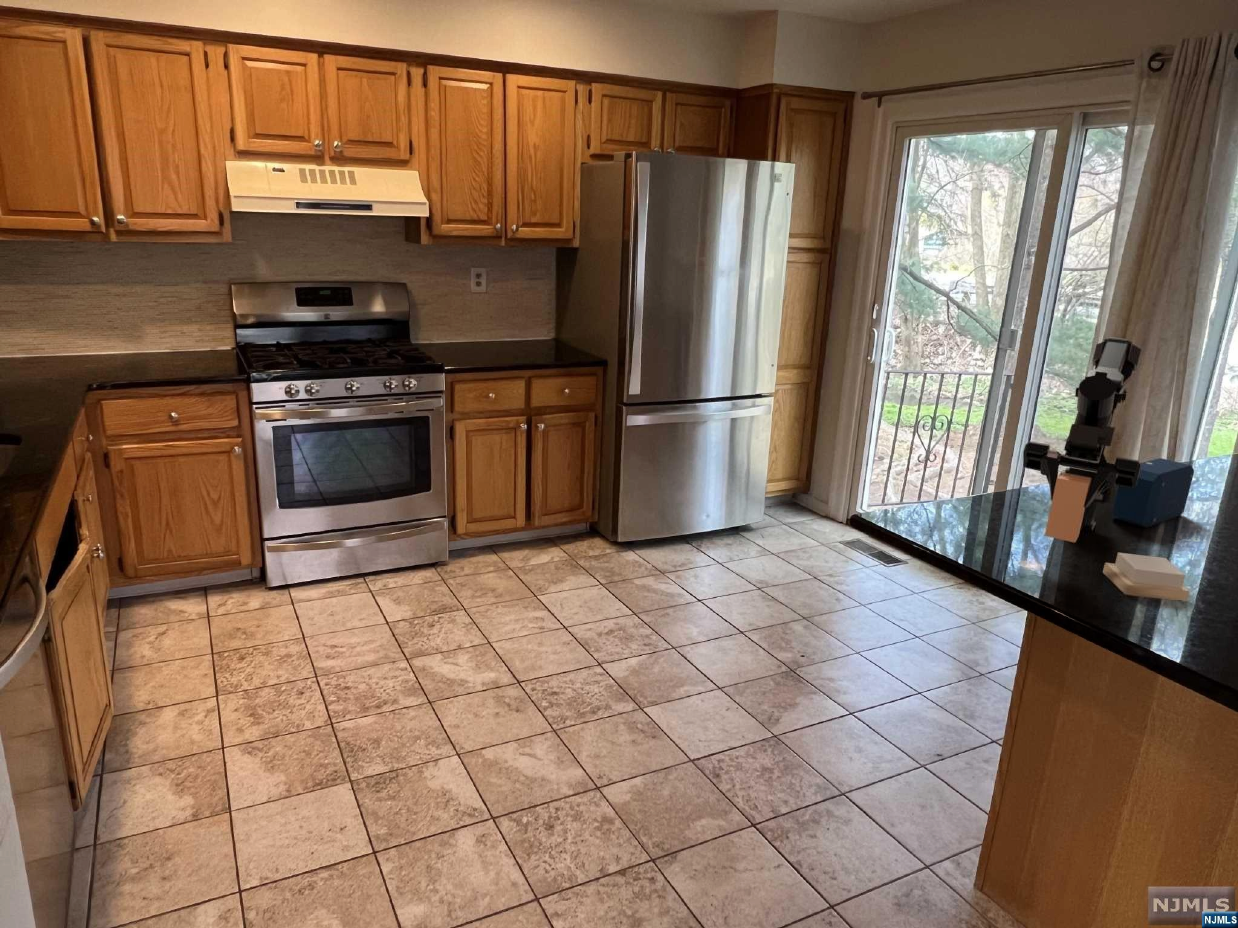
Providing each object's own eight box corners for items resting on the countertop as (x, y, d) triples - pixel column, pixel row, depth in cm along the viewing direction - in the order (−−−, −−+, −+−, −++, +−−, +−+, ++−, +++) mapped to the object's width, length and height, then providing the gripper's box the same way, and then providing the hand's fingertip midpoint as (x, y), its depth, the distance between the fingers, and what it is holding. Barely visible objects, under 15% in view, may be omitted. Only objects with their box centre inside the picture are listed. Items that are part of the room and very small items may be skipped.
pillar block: (1049, 528, 157) (1061, 472, 154) (1078, 535, 155) (1091, 477, 152) (1044, 535, 153) (1057, 477, 150) (1075, 542, 151) (1088, 483, 148)
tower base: (1102, 574, 157) (1105, 562, 156) (1159, 581, 155) (1163, 568, 155) (1124, 597, 147) (1127, 584, 146) (1186, 604, 146) (1189, 591, 145)
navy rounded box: (1145, 505, 200) (1166, 423, 195) (1186, 516, 194) (1208, 431, 188) (1103, 518, 188) (1124, 431, 183) (1145, 531, 181) (1168, 441, 176)
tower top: (1114, 565, 155) (1118, 552, 154) (1162, 570, 154) (1165, 558, 153) (1132, 582, 147) (1135, 569, 147) (1181, 588, 146) (1185, 575, 145)
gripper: (1035, 398, 156) (1012, 468, 150) (1152, 416, 146) (1133, 491, 140) (1034, 432, 164) (1012, 499, 158) (1145, 451, 154) (1126, 524, 148)
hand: (1068, 502), depth 151 cm, fingers closed on pillar block, 5 cm apart
